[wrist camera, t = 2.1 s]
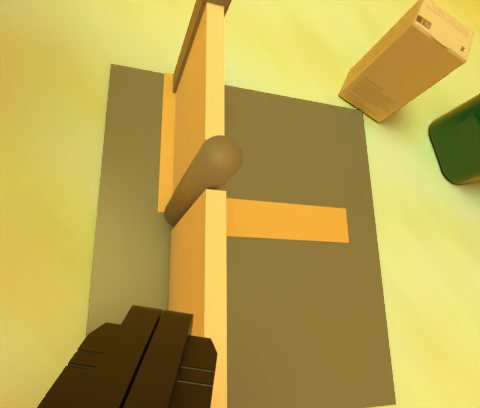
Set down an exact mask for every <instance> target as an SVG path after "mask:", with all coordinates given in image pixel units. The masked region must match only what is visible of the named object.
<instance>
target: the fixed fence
mask: <svg viewBox="0 0 480 408" xmlns="http://www.w3.org/2000/svg"><path fill="white" fill-rule="evenodd" d="M230 2H231V0H196V3H195V6H194V10H193V13H192V16H191V19H190V23H189V26H188V29H187V33H186V36H185V39H184V42H183V46H182V49H181V52H180V55H179V59H178V62H177V65H176V68H175V72H174V75H173V93H176V100H175V127H174V155H173V182H172V195H173V196H172V197H171V199H170V201H169V202H168V204H167V206H166V207H165V211H164V216H165V219H166V221H167V222H168V223H169V224H170V225H172V226H174V227H175V225H176V224H177V223H178V222H179V221H180V219H181V218H182V217H183V216H184V215H185V214H186V212H187V211H188V210H189V209H190V208H191V206H192V205H193V204H194V203H195V202H196V200H197V199H198V198H199V197H200V196H201V194H202V193H203V192H204V191H205V190H206V189H210V190H220V189H221V188H222V187H223V186H224V185H225V184H226V183H227V182H228V181H229V180H230V179H231V178H232V177H233V176H234V175H235V174H236V173H237V171H238V170H239V169H240V168H241V166H242V163H243V153H242V150H241V148H240V146H239V145H238V144H237V143H236V142H235V141H234V140H233V139H231V138H229V137H227V136H224V17H225V14H226V12H227V10H228V7H229V5H230Z"/></svg>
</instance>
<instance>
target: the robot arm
mask: <svg viewBox="0 0 480 408" xmlns="http://www.w3.org/2000/svg"><path fill="white" fill-rule="evenodd" d="M193 317H194V314H189V313H183V312H176V311H170V310H164V311H163V309H157V308H151V307H144V306H138V305H132V306H131V308H130V310H129V311H128V313H127V315H126V317H125V318H124V320H123V322H122V323H121V324H114V323H107V322H106V323H104V324H103V325H101V326H100V327H98V328H97V329H95V330H94V331H92V332H91V333H89V334H88V335H87V337H86V338H85V340H84V341H83V343H82V344H81V345H80V347H79V348H78V351H77V353H75V354H74V355H73V357H72V358H71V360H70V361H69V363H68V366H66V367H65V368H64V370H63V371H62V373H61V374H60V376H59V377H58V378H57V380H56V381H55V383H54V384H53V386H52V387H51V388H50V390H49V391H48V393H47V394H46V396H45V397H44V398H43V400H42V401H41V403H40V404H39V406H38V407H37V408H210V407H211V399H212V392H213V384H214V377H215V370H216V362H217V355H218V353H217V351H216V349H215V346H214V344H213V342H212V340H211V338H205V337H199V336H192V335H191V333H192V326H193Z"/></svg>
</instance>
